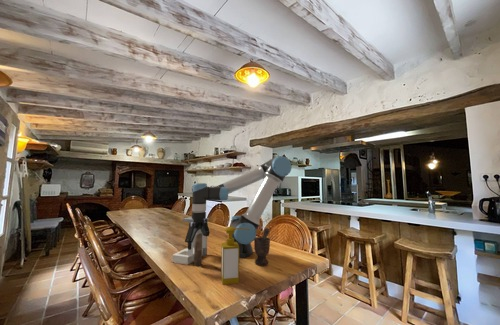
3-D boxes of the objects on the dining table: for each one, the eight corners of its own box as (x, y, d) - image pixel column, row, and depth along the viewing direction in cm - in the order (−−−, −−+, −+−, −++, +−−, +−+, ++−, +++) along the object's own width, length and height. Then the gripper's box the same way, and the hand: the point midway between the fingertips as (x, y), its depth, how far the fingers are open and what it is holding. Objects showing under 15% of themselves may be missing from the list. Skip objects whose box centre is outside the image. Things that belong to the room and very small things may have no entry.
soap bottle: (251, 281, 95) (251, 227, 97) (222, 284, 92) (223, 228, 94) (247, 274, 102) (248, 224, 104) (221, 277, 99) (222, 225, 101)
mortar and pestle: (276, 266, 112) (277, 227, 114) (264, 269, 107) (265, 229, 109) (262, 259, 122) (263, 223, 124) (250, 262, 117) (251, 225, 119)
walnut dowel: (203, 263, 115) (203, 233, 117) (198, 266, 112) (199, 235, 113) (196, 262, 117) (197, 232, 118) (192, 265, 113) (193, 234, 114)
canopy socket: (208, 254, 130) (208, 218, 132) (190, 265, 113) (191, 223, 115) (188, 251, 135) (189, 217, 137) (169, 261, 118) (170, 222, 120)
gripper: (205, 208, 130) (204, 244, 128) (178, 214, 106) (176, 258, 104) (216, 209, 127) (215, 245, 125) (191, 215, 104) (189, 260, 102)
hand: (197, 251), depth 115 cm, fingers open, 13 cm apart
